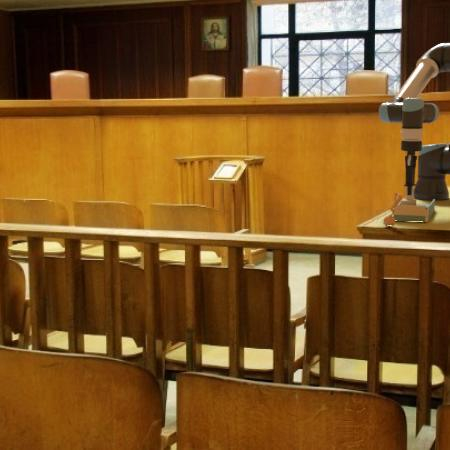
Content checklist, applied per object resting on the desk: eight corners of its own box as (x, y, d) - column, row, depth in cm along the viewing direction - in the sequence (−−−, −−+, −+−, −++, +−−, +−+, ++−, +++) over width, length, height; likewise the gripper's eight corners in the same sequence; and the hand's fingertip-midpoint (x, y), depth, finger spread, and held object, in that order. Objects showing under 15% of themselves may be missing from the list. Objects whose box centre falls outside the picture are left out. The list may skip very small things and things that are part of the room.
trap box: (404, 209, 302) (404, 194, 301) (434, 210, 298) (435, 195, 297) (393, 221, 275) (393, 204, 274) (426, 223, 271) (427, 206, 270)
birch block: (402, 207, 291) (402, 198, 291) (416, 207, 290) (416, 199, 289) (400, 209, 287) (401, 200, 286) (414, 209, 285) (414, 201, 284)
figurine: (385, 224, 268) (386, 190, 266) (402, 225, 266) (404, 190, 264) (381, 228, 261) (382, 193, 259) (399, 229, 259) (400, 193, 256)
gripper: (403, 139, 294) (401, 200, 298) (398, 141, 282) (396, 205, 286) (424, 139, 292) (421, 201, 296) (420, 141, 280) (417, 206, 284)
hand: (409, 203), depth 291 cm, fingers closed
